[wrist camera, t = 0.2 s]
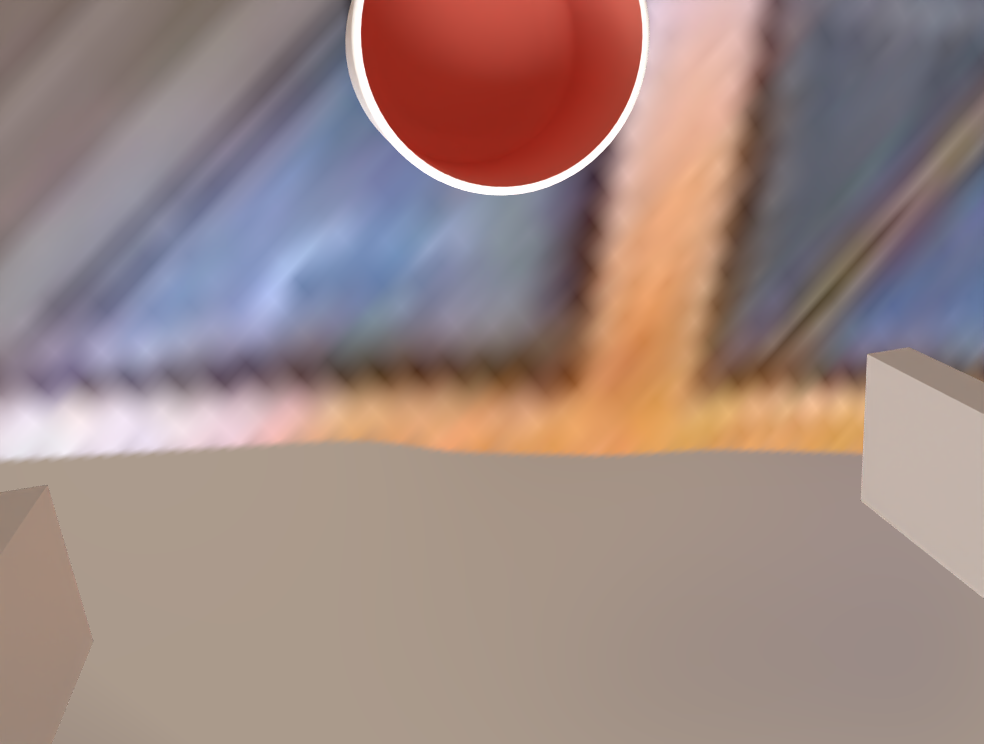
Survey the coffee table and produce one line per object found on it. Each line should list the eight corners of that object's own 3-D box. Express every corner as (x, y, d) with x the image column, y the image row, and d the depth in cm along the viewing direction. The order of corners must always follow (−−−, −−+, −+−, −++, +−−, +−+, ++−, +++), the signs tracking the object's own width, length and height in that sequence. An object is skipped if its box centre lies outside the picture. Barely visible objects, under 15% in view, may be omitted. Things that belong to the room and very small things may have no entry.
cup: (599, 125, 41) (681, 140, 31) (392, 198, 40) (412, 235, 31) (536, -111, 37) (607, -173, 28) (308, -35, 37) (303, -72, 27)
